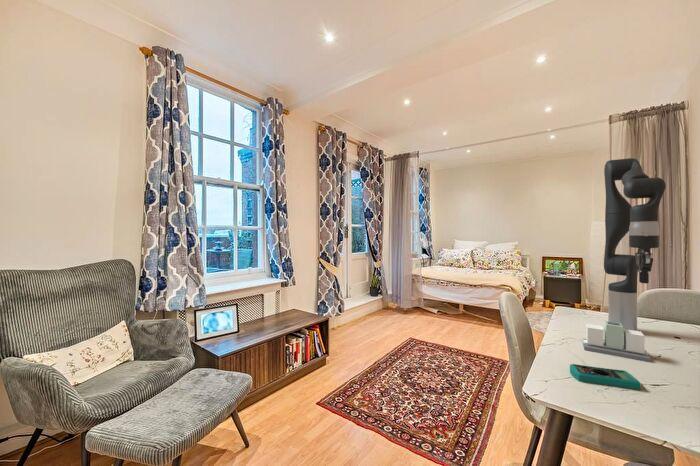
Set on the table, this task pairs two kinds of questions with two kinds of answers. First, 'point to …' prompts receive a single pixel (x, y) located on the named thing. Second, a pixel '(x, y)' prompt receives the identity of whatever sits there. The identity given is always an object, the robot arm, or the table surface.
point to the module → (613, 335)
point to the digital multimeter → (604, 376)
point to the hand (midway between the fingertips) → (643, 282)
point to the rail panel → (631, 348)
